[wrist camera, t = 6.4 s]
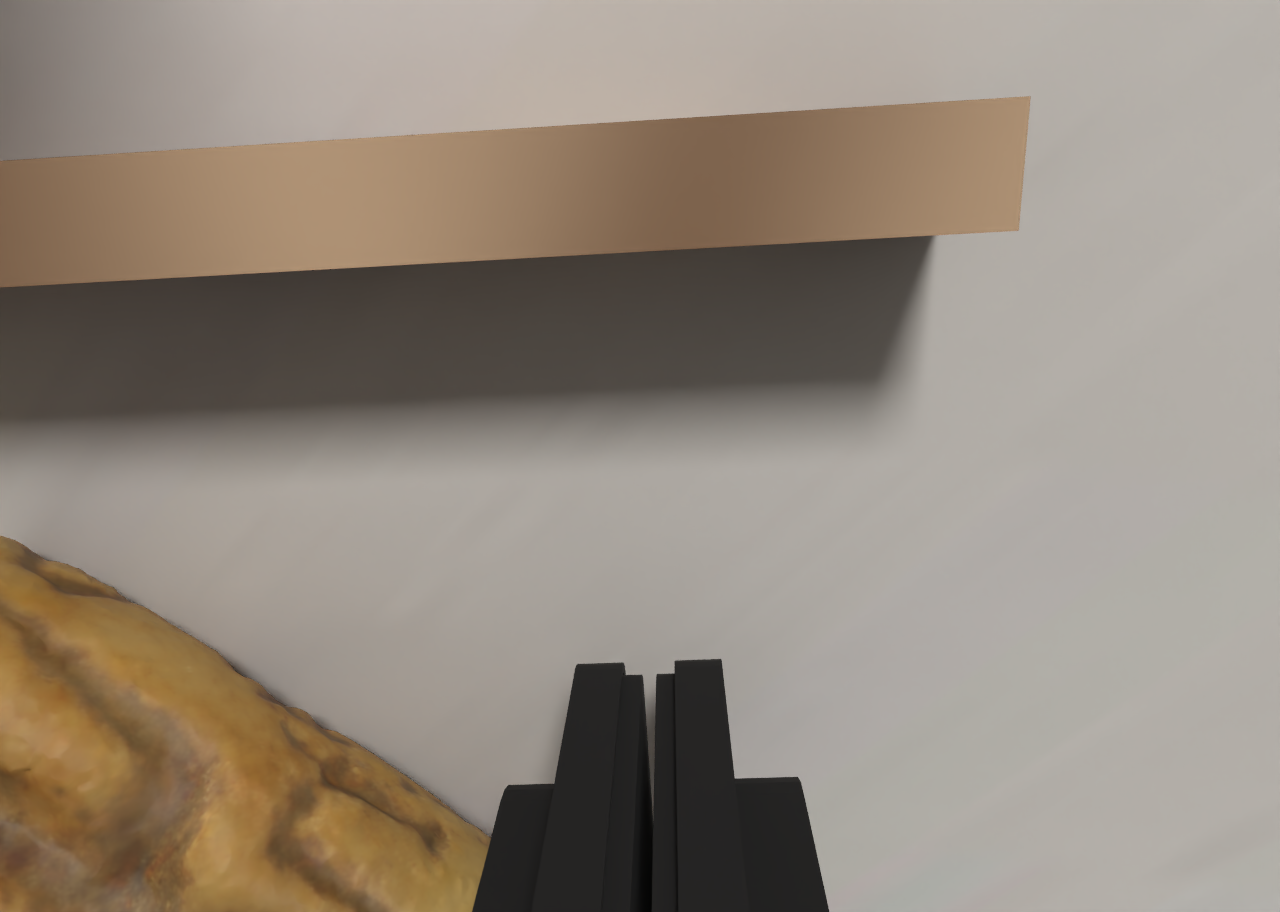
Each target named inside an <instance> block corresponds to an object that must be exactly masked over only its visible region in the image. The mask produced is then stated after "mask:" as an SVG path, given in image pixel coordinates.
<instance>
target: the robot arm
mask: <svg viewBox="0 0 1280 912" xmlns="http://www.w3.org/2000/svg"><path fill="white" fill-rule="evenodd" d="M472 912H829V909H828V904H827V899H826V895H825V890H824V886H823V881H822V876H821V872H820V867H819V863H818V858H817V853H816V849H815V844H814V839H813V835H812V830H811V826H810V821H809V816H808V812H807V807H806V802H805V798H804V793H803V789H802V786H801V782H800V780H799V778H798V777H780V778H744V779H735V778H734V769H733V760H732V751H731V742H730V733H729V724H728V714H727V705H726V696H725V687H724V678H723V669H722V661H721V659H711V660H682V661H675V674H657V677H656V723H655V772H654V821H653V813H652V799H651V785H650V770H649V756H648V741H647V727H646V713H645V698H644V684H643V676H642V675H626V673H625V666H624V663H598V664H577V665H576V668H575V673H574V679H573V684H572V690H571V695H570V701H569V706H568V712H567V717H566V723H565V728H564V734H563V739H562V745H561V750H560V756H559V761H558V767H557V772H556V778H555V783H554V784H532V785H508V786H507V788H506V789H505V790H504V793H503V796H502V799H501V802H500V806H499V810H498V814H497V817H496V821H495V825H494V829H493V833H492V837H491V840H490V844H489V848H488V852H487V856H486V860H485V863H484V867H483V871H482V875H481V879H480V883H479V886H478V890H477V894H476V898H475V902H474V906H473V910H472Z"/></svg>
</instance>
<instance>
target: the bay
mask: <svg viewBox="0 0 1280 912" xmlns="http://www.w3.org/2000/svg"><path fill="white" fill-rule="evenodd" d="M1030 97H1031V96H1028V97H1012V98H996V99H980V100H964V101H948V102H932V103H916V104H900V105H884V106H868V107H852V108H836V109H821V110H805V111H789V112H773V113H757V114H741V115H725V116H709V117H693V118H677V119H661V120H645V121H629V122H613V123H597V124H581V125H565V126H549V127H534V128H518V129H502V130H486V131H470V132H454V133H438V134H422V135H406V136H390V137H374V138H358V139H342V140H326V141H310V142H294V143H278V144H262V145H246V146H231V147H215V148H199V149H183V150H167V151H151V152H135V153H119V154H103V155H87V156H71V157H55V158H39V159H23V160H7V161H0V287H18V286H36V285H54V284H72V283H90V282H108V281H126V280H143V279H161V278H179V277H197V276H215V275H233V274H251V273H269V272H287V271H304V270H322V269H340V268H358V267H376V266H394V265H412V264H430V263H448V262H465V261H483V260H501V259H519V258H537V257H555V256H573V255H591V254H609V253H627V252H644V251H662V250H680V249H698V248H716V247H734V246H752V245H770V244H788V243H805V242H823V241H841V240H859V239H877V238H895V237H913V236H931V235H949V234H966V233H984V232H1002V231H1019V220H1020V209H1021V198H1022V186H1023V175H1024V164H1025V153H1026V142H1027V130H1028V119H1029V108H1030Z"/></svg>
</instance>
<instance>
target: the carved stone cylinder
mask: <svg viewBox="0 0 1280 912" xmlns="http://www.w3.org/2000/svg"><path fill="white" fill-rule="evenodd" d="M490 840H491V838H490V837H489V836H487V835H486V834H485V833H483V832H482V831H481V830H480V829H479V828H477V827H475V826H474V825H471V824H469V823H466V822H465V821H464V820H463V819H462V818H461V817H459V816H458V815H457V814H456V813H455V812H454V811H452V810H451V809H450V808H449V807H448V806H446V805H445V804H443V803H442V802H441V801H440V800H439V799H437V798H436V797H435V796H433V795H432V794H431V793H429V792H428V791H426V790H425V789H423V788H422V787H421V786H419V785H418V784H416V783H415V782H413V781H412V780H411V779H409V778H408V777H407V776H405V775H404V774H402V773H400V772H399V771H398V770H396V769H395V768H393V767H392V766H390V765H389V764H388V763H386V762H385V761H383V760H382V759H380V758H379V757H377V756H376V755H374V754H373V753H371V752H369V751H368V750H366V749H364V748H363V747H361V746H360V745H359V744H357V743H356V742H354V741H352V740H351V739H349V738H347V737H345V736H343V735H341V734H340V733H338V732H336V731H332V730H326V729H323V728H321V727H320V726H318V725H317V724H316V723H315V722H314V720H313V719H312V717H311V716H310V715H309V714H308V713H307V712H305V711H303V710H301V709H298V708H292V707H287V706H285V705H283V704H281V703H280V702H278V701H277V700H275V699H274V698H273V697H272V696H271V695H270V694H268V693H267V692H266V690H265V689H264V688H263V687H262V686H261V685H260V684H259V683H257V682H255V681H254V680H252V679H250V678H246V677H243V676H242V675H240V674H238V673H237V672H235V671H234V669H233V668H232V667H231V665H230V664H229V663H228V662H227V661H226V660H225V659H224V658H223V657H222V656H221V655H220V654H219V653H218V652H217V651H215V650H213V649H211V648H209V647H208V646H206V645H205V644H203V643H202V642H200V641H199V640H197V639H195V638H194V637H192V636H190V635H188V634H186V633H185V632H183V631H181V630H180V629H178V628H176V627H175V626H173V625H171V624H170V623H168V622H167V621H166V620H164V619H163V618H162V617H160V616H158V615H157V614H155V613H154V612H152V611H150V610H149V609H147V608H145V607H143V606H140V605H137V604H135V603H131V602H129V601H128V600H127V599H126V598H125V597H123V596H122V595H120V594H119V593H118V592H117V590H116V589H115V588H113V587H110V586H107V585H106V584H103V583H101V582H100V581H98V580H96V579H95V578H93V577H91V576H89V575H87V574H86V573H85V572H84V571H82V570H81V569H79V568H75V567H72V566H70V565H68V564H64V563H60V562H56V561H46V560H45V559H43V558H42V557H40V556H39V555H37V554H36V553H34V552H32V551H31V550H30V549H28V548H27V547H26V546H24V545H23V544H21V543H19V542H17V541H15V540H12V539H10V538H6V537H3V536H0V912H472V910H473V906H474V902H475V898H476V894H477V890H478V886H479V883H480V879H481V875H482V871H483V867H484V863H485V860H486V856H487V852H488V848H489V844H490Z"/></svg>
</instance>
